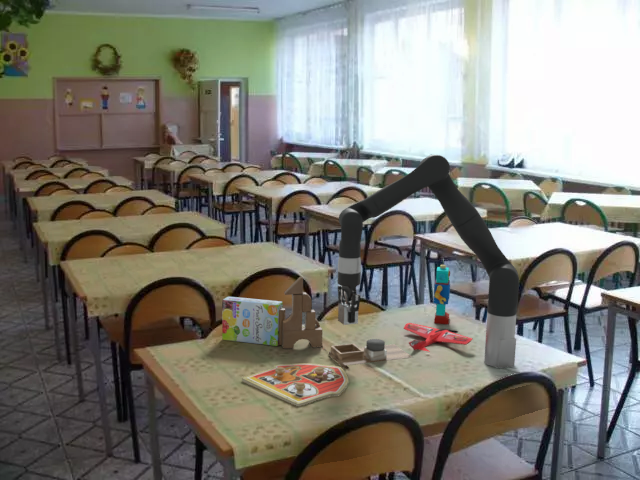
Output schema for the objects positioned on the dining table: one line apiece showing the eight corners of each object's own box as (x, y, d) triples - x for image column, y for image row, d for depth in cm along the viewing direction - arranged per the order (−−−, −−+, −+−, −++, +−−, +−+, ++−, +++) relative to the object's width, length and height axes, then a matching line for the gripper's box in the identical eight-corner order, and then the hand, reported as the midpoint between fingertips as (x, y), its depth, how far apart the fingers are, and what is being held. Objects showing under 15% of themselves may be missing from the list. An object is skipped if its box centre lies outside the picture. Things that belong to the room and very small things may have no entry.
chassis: (412, 360, 248) (413, 348, 247) (344, 368, 239) (345, 356, 239) (394, 347, 261) (394, 335, 260) (328, 354, 252) (329, 342, 251)
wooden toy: (318, 341, 266) (320, 272, 261) (322, 347, 259) (323, 277, 255) (275, 342, 263) (276, 273, 258) (278, 349, 257) (278, 278, 252)
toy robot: (448, 325, 287) (451, 262, 283) (432, 324, 288) (435, 261, 284) (449, 317, 298) (452, 256, 294) (433, 316, 299) (436, 255, 295)
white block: (357, 323, 245) (358, 305, 244) (343, 324, 244) (344, 307, 243) (351, 319, 250) (352, 301, 249) (338, 320, 248) (338, 303, 247)
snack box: (283, 342, 265) (283, 300, 262) (277, 346, 259) (277, 305, 257) (227, 335, 271) (227, 295, 268) (221, 340, 265) (221, 299, 262)
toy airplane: (482, 345, 266) (483, 331, 265) (448, 366, 244) (449, 351, 243) (415, 330, 281) (416, 317, 280) (378, 349, 259) (378, 335, 258)
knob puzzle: (237, 381, 229) (237, 367, 228) (307, 359, 249) (308, 346, 248) (303, 411, 208) (303, 395, 207) (373, 384, 229) (374, 370, 228)
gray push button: (387, 358, 246) (387, 343, 245) (370, 360, 243) (371, 345, 242) (379, 352, 251) (379, 338, 250) (363, 354, 249) (363, 340, 248)
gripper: (368, 274, 238) (367, 325, 242) (351, 264, 252) (349, 313, 255) (347, 275, 236) (346, 327, 239) (330, 266, 249) (329, 315, 252)
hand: (348, 319), depth 247 cm, fingers closed on white block, 5 cm apart
